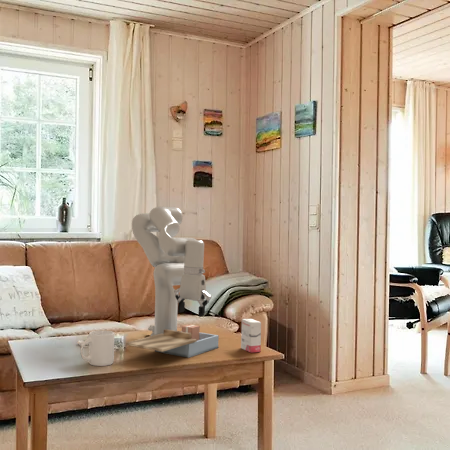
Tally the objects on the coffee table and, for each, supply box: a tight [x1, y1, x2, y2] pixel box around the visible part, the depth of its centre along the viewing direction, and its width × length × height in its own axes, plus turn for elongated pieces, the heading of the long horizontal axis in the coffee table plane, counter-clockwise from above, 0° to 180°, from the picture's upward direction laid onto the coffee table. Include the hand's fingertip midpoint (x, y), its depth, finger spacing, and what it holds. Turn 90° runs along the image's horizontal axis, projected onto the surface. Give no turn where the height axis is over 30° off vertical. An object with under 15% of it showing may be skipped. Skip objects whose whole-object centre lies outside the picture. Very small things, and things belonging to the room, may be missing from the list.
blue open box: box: [154, 330, 220, 358], centre depth 228 cm, size 16×20×5 cm
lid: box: [125, 329, 197, 353], centre depth 214 cm, size 17×21×3 cm
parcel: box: [181, 324, 201, 341], centre depth 230 cm, size 5×5×8 cm
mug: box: [80, 329, 115, 367], centre depth 203 cm, size 9×12×11 cm
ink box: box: [240, 318, 262, 354], centre depth 230 cm, size 9×5×12 cm, turn 24°
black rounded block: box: [76, 334, 89, 348], centre depth 231 cm, size 9×8×4 cm
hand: (191, 314), depth 231 cm, fingers open, 9 cm apart
